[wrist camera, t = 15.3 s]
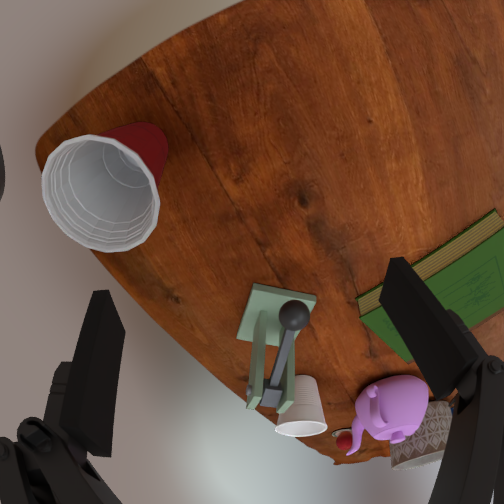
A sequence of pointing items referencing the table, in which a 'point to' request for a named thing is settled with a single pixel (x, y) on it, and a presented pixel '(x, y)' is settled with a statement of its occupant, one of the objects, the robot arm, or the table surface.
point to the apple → (344, 438)
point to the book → (452, 281)
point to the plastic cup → (107, 186)
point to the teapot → (390, 409)
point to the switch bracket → (269, 339)
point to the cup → (303, 411)
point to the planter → (424, 439)
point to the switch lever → (284, 348)
